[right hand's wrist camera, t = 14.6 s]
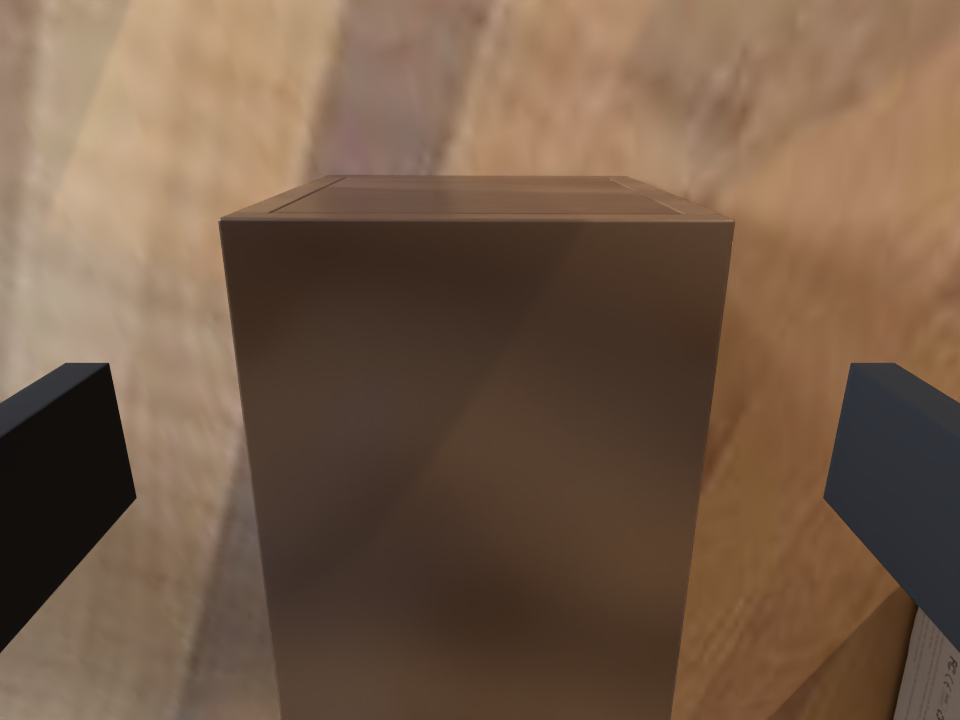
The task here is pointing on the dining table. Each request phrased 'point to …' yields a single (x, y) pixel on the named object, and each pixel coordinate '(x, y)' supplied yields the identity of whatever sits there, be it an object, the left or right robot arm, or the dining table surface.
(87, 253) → the dining table surface
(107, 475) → the right robot arm
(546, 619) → the cabinet
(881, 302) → the dining table surface
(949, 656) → the hard drive box
